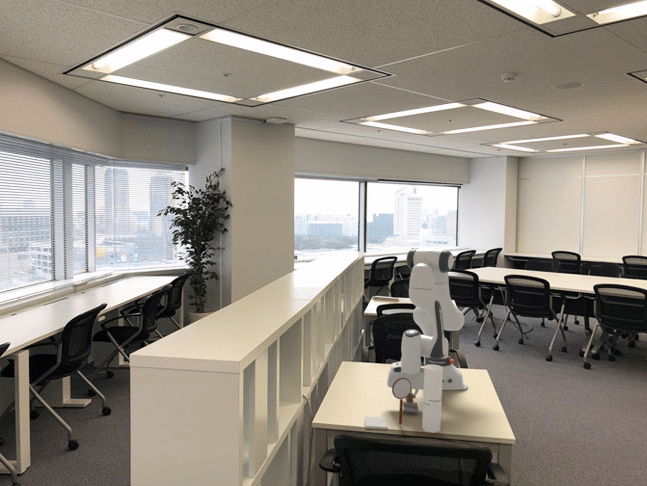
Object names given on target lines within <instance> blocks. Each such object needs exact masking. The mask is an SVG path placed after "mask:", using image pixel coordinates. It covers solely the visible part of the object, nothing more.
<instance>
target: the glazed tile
mask: <svg viewBox="0 0 647 486" xmlns="http://www.w3.org/2000/svg"><path fill="white" fill-rule="evenodd" d="M364 429H368V430H384V431H385V430H386V431H387V430H389V426H388V417H383V416H367V415H365V416H364Z"/></svg>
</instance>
